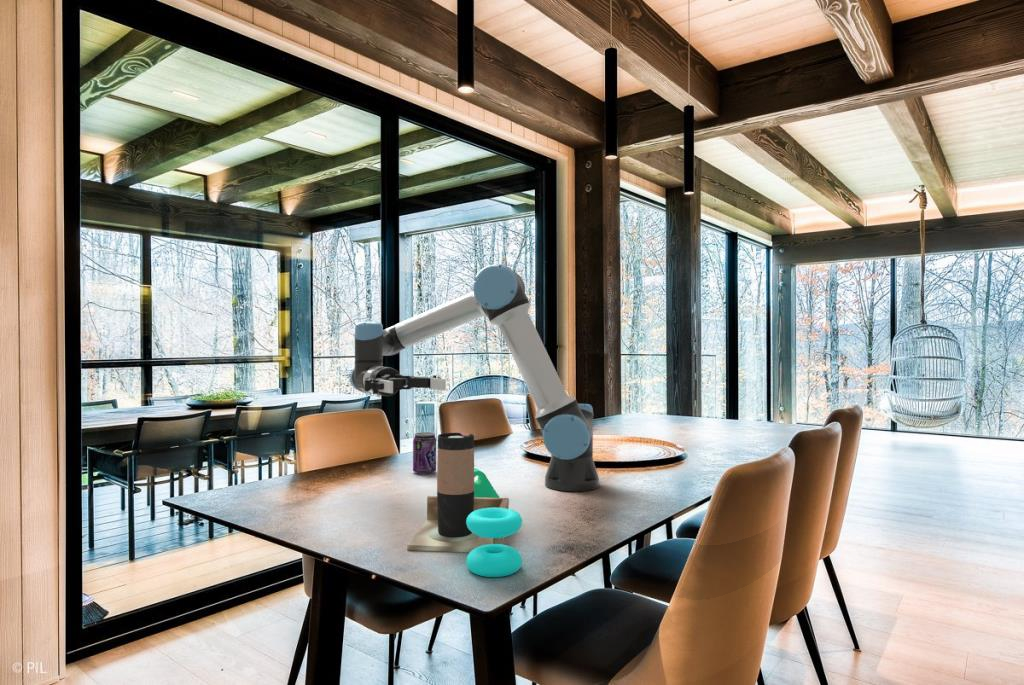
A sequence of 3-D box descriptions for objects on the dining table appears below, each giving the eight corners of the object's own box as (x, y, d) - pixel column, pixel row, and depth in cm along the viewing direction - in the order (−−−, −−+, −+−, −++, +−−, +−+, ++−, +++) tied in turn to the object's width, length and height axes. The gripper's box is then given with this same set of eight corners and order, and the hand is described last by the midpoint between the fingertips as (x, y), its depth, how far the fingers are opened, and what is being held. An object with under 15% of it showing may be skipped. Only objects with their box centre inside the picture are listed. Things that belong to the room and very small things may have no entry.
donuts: (458, 518, 107) (476, 503, 116) (458, 576, 107) (476, 557, 116) (514, 523, 104) (527, 507, 114) (514, 582, 104) (527, 561, 114)
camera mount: (491, 504, 154) (491, 463, 154) (501, 512, 147) (501, 469, 147) (444, 508, 150) (445, 466, 150) (452, 517, 143) (453, 472, 143)
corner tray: (508, 525, 136) (508, 498, 136) (499, 553, 118) (499, 522, 118) (428, 522, 138) (428, 495, 138) (407, 550, 120) (407, 519, 120)
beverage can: (420, 476, 185) (420, 436, 185) (408, 472, 190) (408, 433, 190) (440, 473, 189) (440, 434, 189) (428, 469, 195) (428, 431, 195)
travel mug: (440, 539, 122) (440, 438, 122) (434, 528, 130) (434, 433, 130) (477, 536, 124) (478, 437, 124) (469, 525, 132) (470, 431, 132)
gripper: (425, 393, 169) (464, 399, 152) (335, 397, 155) (367, 405, 137) (425, 365, 169) (464, 368, 152) (335, 367, 155) (367, 371, 137)
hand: (418, 386), depth 144 cm, fingers open, 13 cm apart
